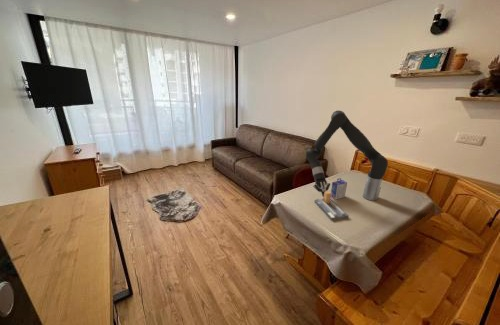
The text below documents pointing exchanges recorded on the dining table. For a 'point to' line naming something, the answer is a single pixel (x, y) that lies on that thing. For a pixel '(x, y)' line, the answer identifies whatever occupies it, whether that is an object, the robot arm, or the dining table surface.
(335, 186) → the ink cartridge box
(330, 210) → the switch panel
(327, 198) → the switch tab
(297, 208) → the dining table surface
